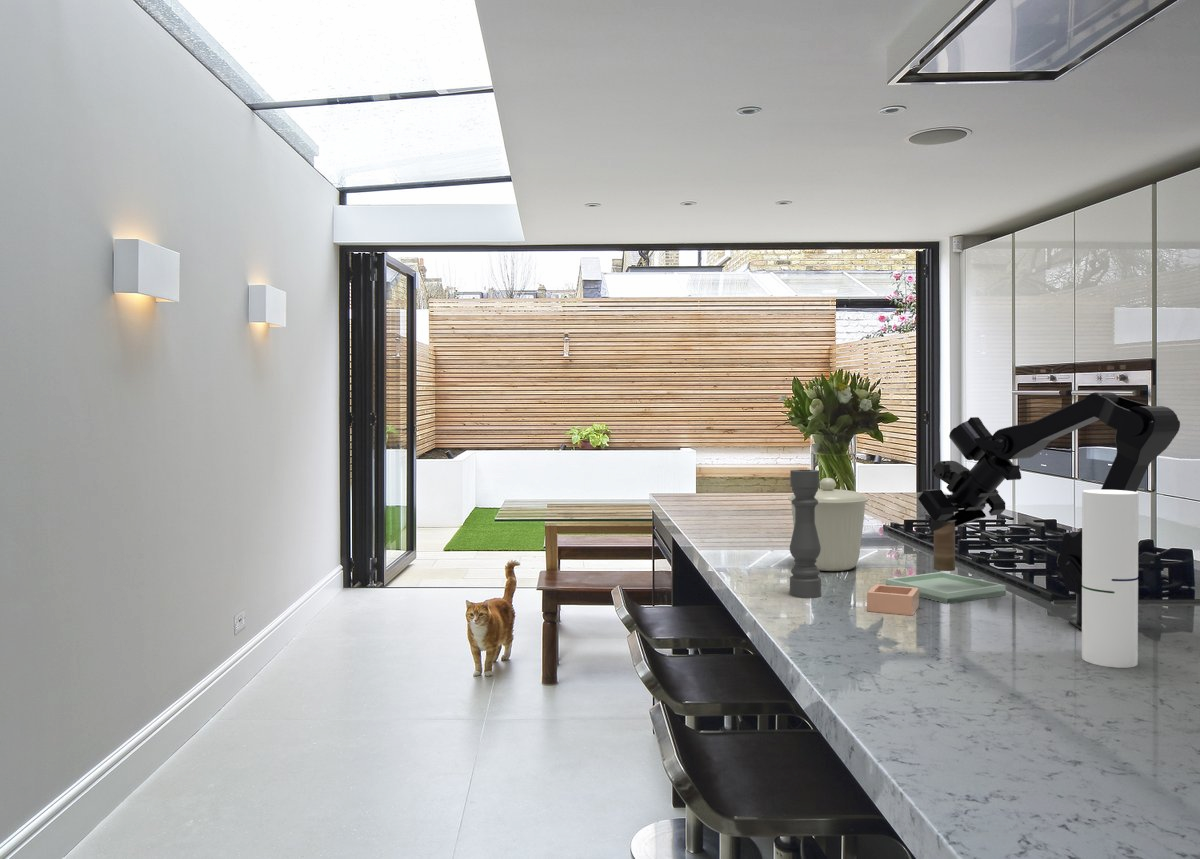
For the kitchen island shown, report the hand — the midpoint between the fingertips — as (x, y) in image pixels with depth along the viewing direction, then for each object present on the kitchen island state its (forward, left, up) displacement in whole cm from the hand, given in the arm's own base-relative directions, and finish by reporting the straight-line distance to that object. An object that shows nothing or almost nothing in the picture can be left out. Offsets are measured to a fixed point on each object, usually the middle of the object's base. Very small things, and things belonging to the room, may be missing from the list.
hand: (939, 528), depth 179 cm
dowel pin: (-1, -1, -8) cm, 8 cm away
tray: (-1, -1, -13) cm, 13 cm away
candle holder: (-6, +27, -13) cm, 31 cm away
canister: (+24, +19, -13) cm, 33 cm away
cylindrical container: (-48, -13, -13) cm, 51 cm away
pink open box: (-17, +12, -13) cm, 25 cm away
